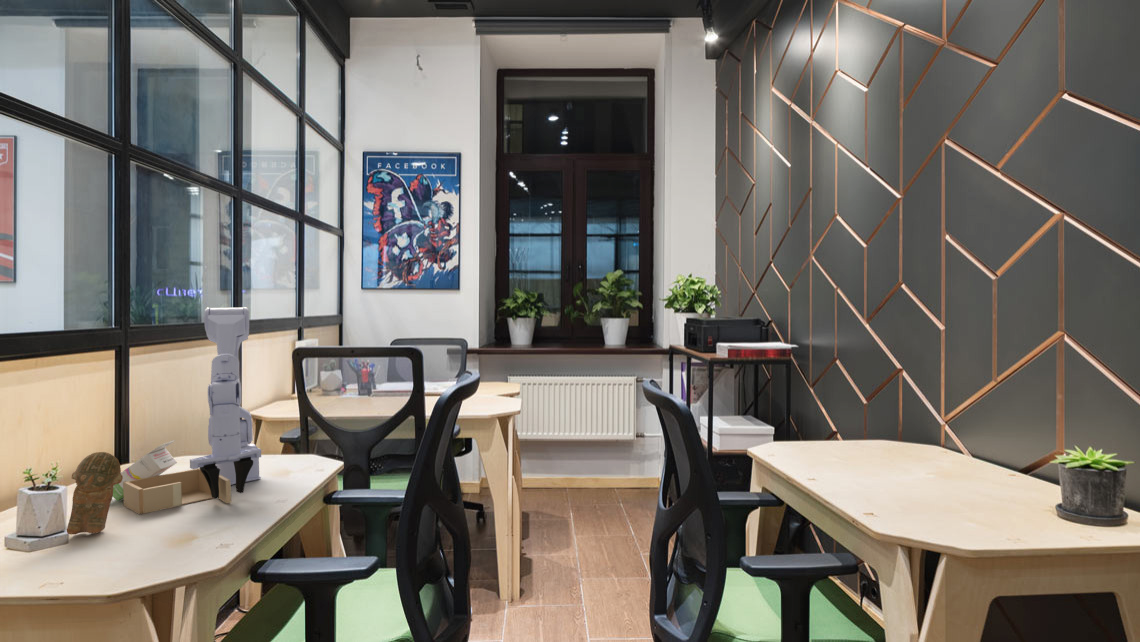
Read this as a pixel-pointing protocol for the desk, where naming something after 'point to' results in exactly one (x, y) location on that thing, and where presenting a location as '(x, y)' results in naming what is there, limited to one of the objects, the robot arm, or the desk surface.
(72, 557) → the desk surface
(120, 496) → the ink box
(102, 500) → the figurine
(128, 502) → the carton
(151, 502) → the flap
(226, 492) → the flap
